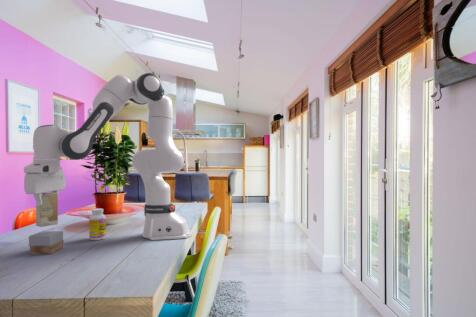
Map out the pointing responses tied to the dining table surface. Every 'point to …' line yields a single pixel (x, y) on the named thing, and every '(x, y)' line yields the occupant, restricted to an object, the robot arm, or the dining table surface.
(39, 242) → the tower top
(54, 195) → the skincare box
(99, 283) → the dining table surface
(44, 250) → the tower base
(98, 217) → the supplement bottle
